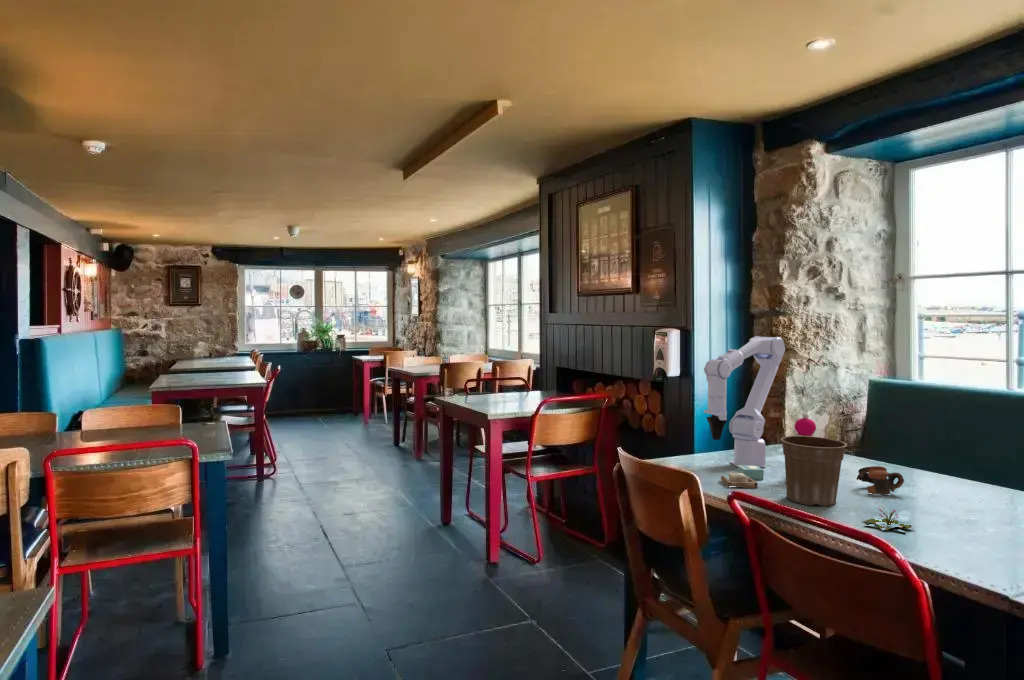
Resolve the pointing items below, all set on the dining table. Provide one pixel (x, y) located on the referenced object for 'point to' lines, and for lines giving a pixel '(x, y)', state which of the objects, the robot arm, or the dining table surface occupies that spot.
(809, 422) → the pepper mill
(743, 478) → the stub
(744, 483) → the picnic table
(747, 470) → the teal toy building
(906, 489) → the dining table surface
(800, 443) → the plant pot
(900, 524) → the lily flower
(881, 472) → the pottery mug
